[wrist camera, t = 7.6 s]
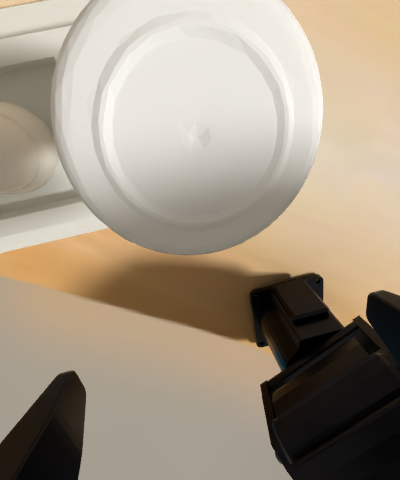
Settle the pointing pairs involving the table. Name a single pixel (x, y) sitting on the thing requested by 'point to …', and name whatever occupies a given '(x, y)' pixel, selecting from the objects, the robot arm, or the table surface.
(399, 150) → the table surface
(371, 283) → the table surface
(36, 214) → the tray
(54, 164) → the egg
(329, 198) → the table surface
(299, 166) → the sprinkles bottle
